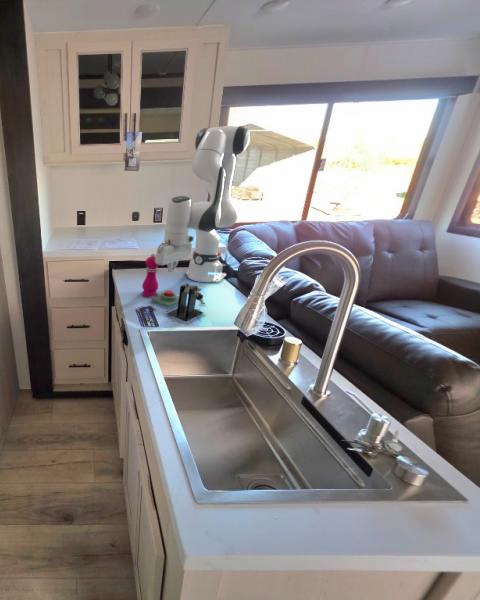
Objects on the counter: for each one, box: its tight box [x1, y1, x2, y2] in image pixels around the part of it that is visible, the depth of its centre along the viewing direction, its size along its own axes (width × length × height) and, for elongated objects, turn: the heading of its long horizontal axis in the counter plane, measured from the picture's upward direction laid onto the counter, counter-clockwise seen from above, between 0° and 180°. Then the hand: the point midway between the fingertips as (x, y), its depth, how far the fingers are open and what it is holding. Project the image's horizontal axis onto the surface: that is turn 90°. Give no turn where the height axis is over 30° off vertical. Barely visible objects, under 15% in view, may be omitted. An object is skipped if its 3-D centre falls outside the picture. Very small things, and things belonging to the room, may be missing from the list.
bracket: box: [166, 283, 204, 323], centre depth 125 cm, size 12×9×13 cm
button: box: [164, 289, 174, 297], centre depth 137 cm, size 4×4×2 cm
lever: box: [184, 286, 204, 301], centre depth 127 cm, size 13×3×3 cm, turn 131°
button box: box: [151, 291, 179, 309], centre depth 138 cm, size 11×9×4 cm
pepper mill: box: [141, 253, 160, 298], centre depth 143 cm, size 7×7×20 cm
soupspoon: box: [189, 284, 206, 305], centre depth 145 cm, size 22×3×7 cm
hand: (171, 271), depth 133 cm, fingers closed
